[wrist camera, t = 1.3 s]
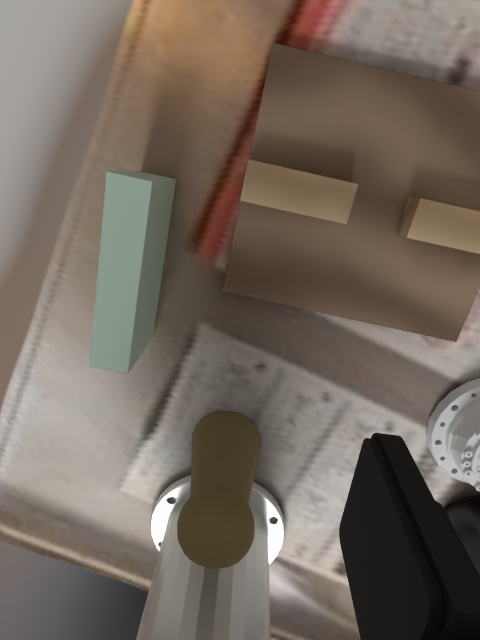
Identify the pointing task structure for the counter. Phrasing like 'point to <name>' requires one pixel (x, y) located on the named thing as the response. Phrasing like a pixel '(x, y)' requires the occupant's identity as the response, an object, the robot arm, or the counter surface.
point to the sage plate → (129, 266)
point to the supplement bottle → (467, 525)
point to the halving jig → (361, 196)
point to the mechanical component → (457, 433)
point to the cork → (220, 491)
